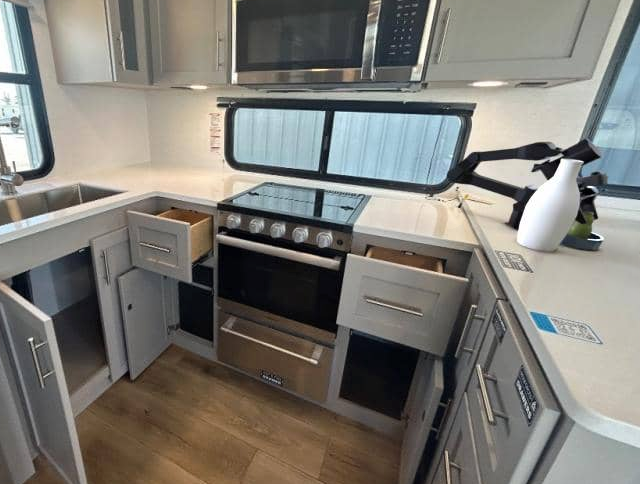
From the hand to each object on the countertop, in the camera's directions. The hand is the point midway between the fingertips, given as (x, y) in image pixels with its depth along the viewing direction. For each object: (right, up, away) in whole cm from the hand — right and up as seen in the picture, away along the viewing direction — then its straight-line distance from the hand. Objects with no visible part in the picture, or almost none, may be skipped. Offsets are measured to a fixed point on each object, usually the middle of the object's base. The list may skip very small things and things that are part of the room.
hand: (590, 221), depth 98 cm
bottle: (-16, -7, +1) cm, 17 cm away
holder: (-1, -7, +4) cm, 8 cm away
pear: (-1, -6, +4) cm, 8 cm away
